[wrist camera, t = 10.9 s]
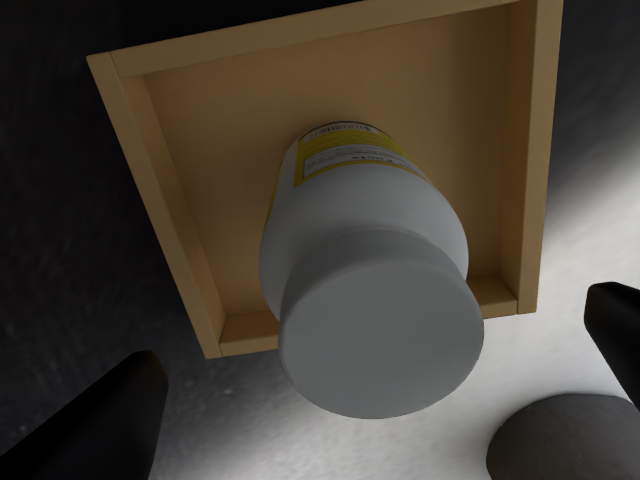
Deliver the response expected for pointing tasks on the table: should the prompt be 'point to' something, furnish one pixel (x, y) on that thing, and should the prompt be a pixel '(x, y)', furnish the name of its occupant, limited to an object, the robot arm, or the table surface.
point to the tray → (329, 105)
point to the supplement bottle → (366, 276)
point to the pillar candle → (569, 441)
